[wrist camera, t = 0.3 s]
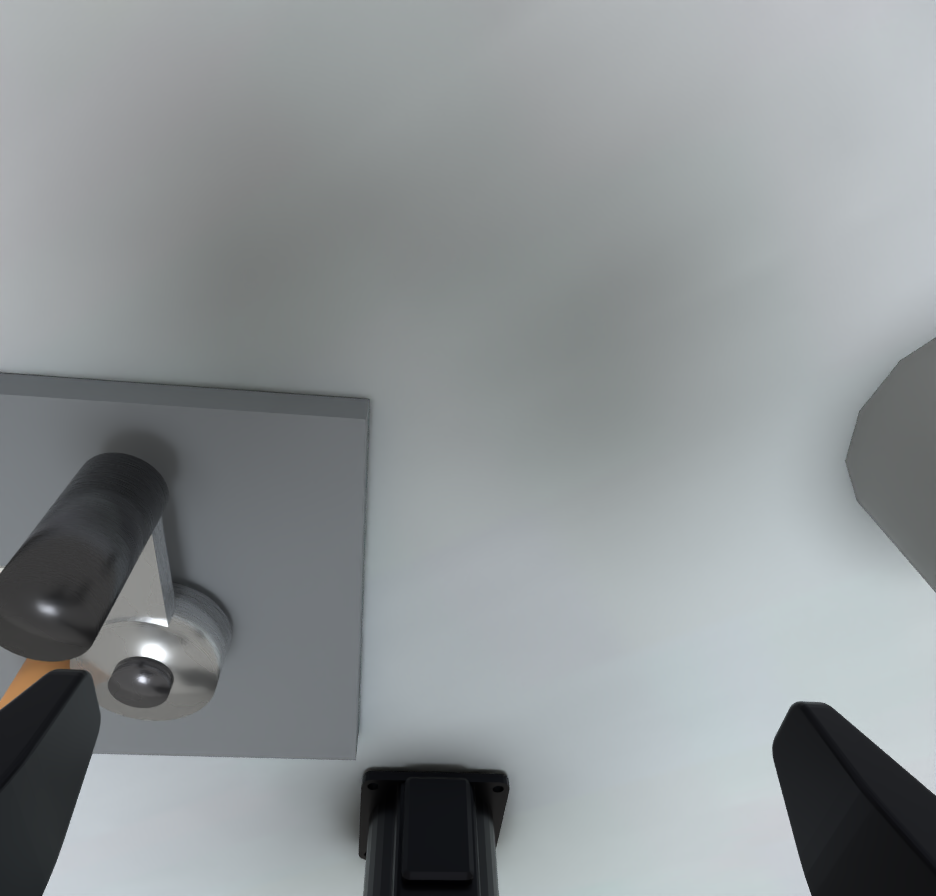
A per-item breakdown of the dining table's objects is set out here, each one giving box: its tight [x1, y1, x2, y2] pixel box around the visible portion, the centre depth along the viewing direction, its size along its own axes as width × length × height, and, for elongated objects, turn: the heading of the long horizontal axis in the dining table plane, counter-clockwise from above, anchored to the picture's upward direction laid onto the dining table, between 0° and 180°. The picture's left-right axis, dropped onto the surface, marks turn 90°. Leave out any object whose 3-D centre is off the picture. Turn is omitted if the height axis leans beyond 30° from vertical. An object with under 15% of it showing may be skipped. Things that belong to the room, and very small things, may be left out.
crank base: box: [0, 373, 369, 760], centre depth 23 cm, size 16×13×4 cm
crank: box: [0, 453, 232, 721], centre depth 20 cm, size 10×4×6 cm, turn 174°
